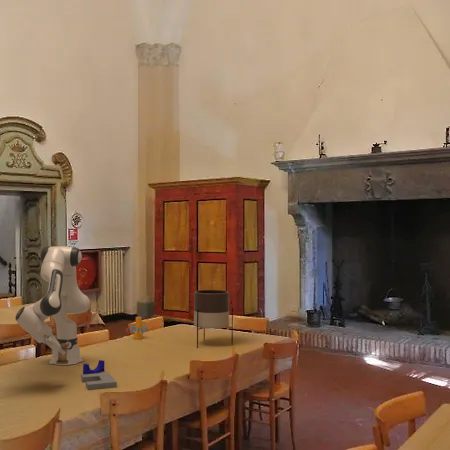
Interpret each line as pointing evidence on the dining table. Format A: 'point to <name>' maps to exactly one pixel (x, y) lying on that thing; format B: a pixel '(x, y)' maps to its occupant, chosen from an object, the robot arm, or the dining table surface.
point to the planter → (211, 310)
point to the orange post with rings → (138, 329)
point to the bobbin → (62, 358)
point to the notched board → (98, 381)
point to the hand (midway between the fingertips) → (63, 352)
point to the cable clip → (97, 370)
